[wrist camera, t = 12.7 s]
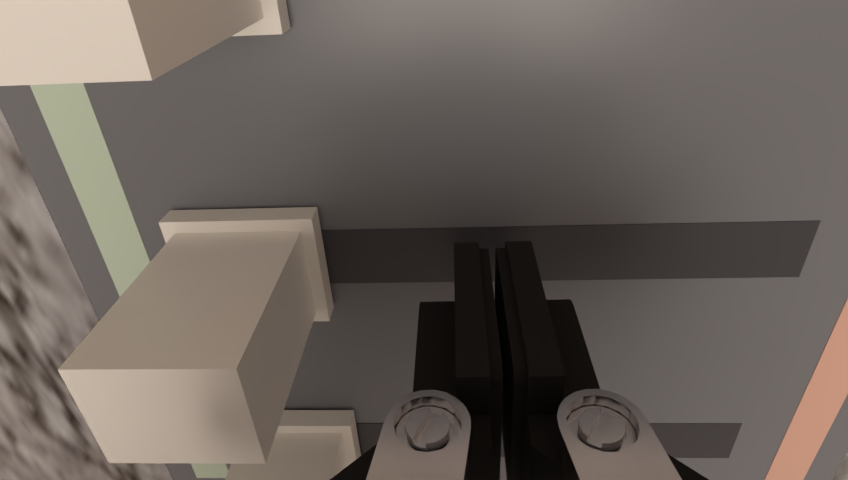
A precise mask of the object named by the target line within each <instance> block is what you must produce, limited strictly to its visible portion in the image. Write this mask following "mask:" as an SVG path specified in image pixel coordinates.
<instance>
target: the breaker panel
mask: <svg viewBox="0 0 848 480" xmlns="http://www.w3.org/2000/svg"><path fill="white" fill-rule="evenodd" d="M286 4H287V10H288V16H289V22H290V28H291V29H289V30H288V31H286V32H285V33H284V34H277V35H253V36H231V37H229V38H227V39H225V40H224V41H222V42H220V43H218V44H217V45H215V46H213V47H211V48H209V49H208V50H206V51H204V52H202V53H200V54H199V55H197V56H195V57H193V58H192V59H190V60H188V61H186V62H184V63H183V64H181V65H179V66H177V67H176V68H174V69H172V70H170V71H168V72H167V73H165V74H163V75H161V76H159V77H158V78H156V79H154V80H152V81H125V82H98V83H70V84H43V85H16V86H0V108H1V110H2V112H3V114H4V116H5V118H6V121H7V123H8V125H9V127H10V129H11V131H12V134H13V136H14V138H15V140H16V142H17V144H18V147H19V149H20V151H21V153H22V155H23V157H24V159H25V162H26V164H27V166H28V168H29V170H30V172H31V175H32V177H33V179H34V181H35V183H36V185H37V187H38V190H39V192H40V194H41V196H42V198H43V200H44V203H45V205H46V207H47V209H48V211H49V213H50V216H51V218H52V220H53V222H54V224H55V226H56V228H57V231H58V233H59V235H60V237H61V239H62V241H63V244H64V246H65V248H66V250H67V252H68V254H69V256H70V259H71V261H72V263H73V265H74V267H75V269H76V272H77V274H78V276H79V278H80V280H81V282H82V285H83V287H84V289H85V291H86V293H87V295H88V297H89V300H90V302H91V304H92V306H93V308H94V310H95V313H96V315H97V317H98V319H99V321H100V320H101V319H102V317H103V316H104V315H105V314H106V313H107V312H108V310H109V309H110V308H111V307H112V306H113V305H114V303H115V302H116V301H117V300H118V299H119V298H120V297H121V295H122V294H123V293H124V292H125V291H126V290H127V288H128V287H129V286H130V285H131V284H132V283H133V281H134V280H135V279H136V278H137V277H138V276H139V274H140V273H141V272H142V271H143V270H144V269H145V267H146V266H147V265H148V264H149V263H150V262H151V260H152V259H153V258H154V257H155V256H156V255H157V253H158V252H159V251H160V250H161V249H162V248H163V246H164V245H165V244H166V243H165V240H164V237H163V234H162V231H161V228H160V225H159V223H158V222H159V221H160V220H161V219H162V218H163V217H164V216H165V215H166V214H167V213H168V212H169V211H170V210H203V209H247V208H292V207H317V209H318V215H319V221H320V227H321V233H322V239H323V245H324V251H325V257H326V263H327V269H328V274H329V280H330V286H331V292H332V298H333V304H334V308H333V311H332V315H331V318H330V321H313V324H312V327H311V330H310V333H309V336H308V339H307V342H306V345H305V348H304V351H303V354H302V357H301V360H300V363H299V366H298V369H297V372H296V375H295V378H294V381H293V384H292V387H291V390H290V393H289V396H288V399H287V402H286V405H285V408H284V410H354V416H355V422H356V428H357V434H358V440H359V446H360V452H361V455H363V454H364V453H365V452H367V451H368V450H369V449H371V448H372V447H373V446H375V445H376V444H377V443H378V439H379V436H380V433H381V430H382V427H383V423H384V420H385V417H386V415H387V413H388V411H389V409H390V408H391V406H393V405H394V404H395V403H396V402H397V401H398V400H399V399H400V398H402V397H404V396H406V395H407V394H409V393H412V392H413V382H414V369H415V356H416V342H417V329H418V316H419V304H420V302H433V301H455V291H454V242H478V243H479V248H488V249H489V257H490V266H491V274H492V283H493V291H494V299H495V254H496V248H505V242H506V241H531V242H532V245H533V249H534V253H535V257H536V261H537V265H538V269H539V273H540V277H541V281H542V285H543V289H544V293H545V297H546V300H557V299H570V300H571V301H572V303H573V305H574V308H575V311H576V314H577V317H578V321H579V324H580V327H581V330H582V333H583V336H584V339H585V342H586V346H587V349H588V352H589V355H590V358H591V361H592V364H593V368H594V371H595V374H596V377H597V380H598V383H599V386H600V389H602V390H606V391H611V392H614V393H616V394H618V395H621V396H623V397H625V398H627V399H628V400H629V401H631V402H632V403H633V404H635V405H636V406H637V407H638V408H639V409H640V411H641V412H642V413H643V414H644V416H645V417H646V419H647V420H648V422H649V424H650V426H651V427H652V429H653V431H654V432H655V434H656V436H657V438H658V439H659V441H660V443H661V444H662V446H663V448H664V450H665V451H666V453H667V454H669V455H670V456H672V457H674V458H675V459H677V460H678V461H680V462H682V463H683V464H685V465H686V466H688V467H690V468H691V469H693V470H694V471H696V472H697V473H699V474H701V475H702V476H704V477H705V478H707V479H709V480H832V478H833V477H834V475H835V473H836V471H837V469H838V468H839V466H840V464H841V462H842V461H843V459H844V457H845V455H846V453H847V452H848V0H286ZM230 465H231V464H193V463H166V466H167V468H168V470H169V472H170V474H171V476H172V479H173V480H225V478H226V476H227V473H228V471H229V468H230ZM500 480H507V477H506V467H505V457H504V448H503V438H502V436H501V463H500Z"/></svg>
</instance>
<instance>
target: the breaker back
mask: <svg viewBox="0 0 848 480" xmlns="http://www.w3.org/2000/svg"><path fill="white" fill-rule="evenodd" d="M360 456H361V452H360V446H359V440H358V434H357V428H356V422H355V416H354V410H284V411H283V414H282V417H281V420H280V423H279V426H278V429H277V432H276V435H275V438H274V441H273V444H272V447H271V450H270V453H269V456H268V459H267V462H266V464H231V465H230V468H229V471H228V473H227V476H226V478H225V480H330V479H331V478H333V477H334V476H335V475H337V474H338V473H339V472H340V471H342V470H343V469H344V468H346V467H347V466H348V465H350V464H351V463H352V462H354V461H355V460H356V459H358V458H359V457H360Z"/></svg>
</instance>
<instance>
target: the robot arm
mask: <svg viewBox="0 0 848 480" xmlns="http://www.w3.org/2000/svg"><path fill="white" fill-rule="evenodd" d="M454 291H455V301H433V302H420V304H419V316H418V329H417V342H416V356H415V369H414V382H413V392H412V393H409V394H407V395H406V396H404V397H402V398H400V399H399V400H398V401H397V402H396V403H395V404H394V405H393V406H391V408H390V409H389V411H388V413H387V415H386V417H385V420H384V423H383V427H382V430H381V433H380V436H379V439H378V443H377V444H376V445H375V446H373V447H372V448H371V449H369V450H368V451H367V452H365V453H364V454H363V455H361V456H360V457H359V458H358V459H356V460H355V461H354V462H352V463H351V464H350V465H348V466H347V467H346V468H344V469H343V470H342V471H340V472H339V473H338V474H337V475H335V476H334V477H333V478H331V479H330V480H500V463H501V436H502V438H503V448H504V457H505V467H506V477H507V480H709V479H707V478H705V477H704V476H702V475H701V474H699V473H697V472H696V471H694V470H693V469H691V468H690V467H688V466H686V465H685V464H683V463H682V462H680V461H678V460H677V459H675V458H674V457H672V456H670V455H669V454H667V453H666V451H665V450H664V448H663V446H662V444H661V443H660V441H659V439H658V438H657V436H656V434H655V432H654V431H653V429H652V427H651V426H650V424H649V422H648V420H647V419H646V417H645V416H644V414H643V413H642V412H641V411H640V409H639V408H638V407H637V406H636V405H635V404H633V403H632V402H631V401H629V400H628V399H627V398H625V397H623V396H621V395H618V394H616V393H614V392H611V391H606V390H602V389H600V386H599V383H598V380H597V377H596V374H595V371H594V368H593V364H592V361H591V358H590V355H589V352H588V349H587V346H586V342H585V339H584V336H583V333H582V330H581V327H580V324H579V321H578V317H577V314H576V311H575V308H574V305H573V303H572V301H571V300H570V299H557V300H546V297H545V293H544V289H543V285H542V281H541V277H540V273H539V269H538V265H537V261H536V257H535V253H534V249H533V245H532V242H531V241H506V242H505V248H496V254H495V299H494V291H493V283H492V274H491V266H490V257H489V249H488V248H479V243H478V242H454Z"/></svg>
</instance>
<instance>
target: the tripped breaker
mask: <svg viewBox="0 0 848 480" xmlns="http://www.w3.org/2000/svg"><path fill="white" fill-rule="evenodd" d="M158 223H159V225H160V228H161V231H162V234H163V237H164V240H165V243H166V244H165V245H164V246H163V248H162V249H161V250H160V251H159V252H158V253H157V255H156V256H155V257H154V258H153V259H152V260H151V262H150V263H149V264H148V265H147V266H146V267H145V269H144V270H143V271H142V272H141V273H140V274H139V276H138V277H137V278H136V279H135V280H134V281H133V283H132V284H131V285H130V286H129V287H128V288H127V290H126V291H125V292H124V293H123V294H122V295H121V297H120V298H119V299H118V300H117V301H116V302H115V303H114V305H113V306H112V307H111V308H110V309H109V310H108V312H107V313H106V314H105V315H104V316H103V317H102V319H101V320H100V321H99V322H98V323H97V324H96V326H95V327H94V328H93V329H92V330H91V331H90V333H89V334H88V335H87V336H86V337H85V338H84V340H83V341H82V342H81V343H80V344H79V345H78V347H77V348H76V349H75V350H74V351H73V352H72V354H71V355H70V356H69V357H68V358H67V359H66V361H65V362H64V363H63V364H62V365H61V366H60V368H59V369H58V371H59V373H60V375H61V377H62V379H63V380H64V382H65V384H66V386H67V388H68V390H69V391H70V393H71V395H72V397H73V399H74V400H75V402H76V404H77V406H78V408H79V410H80V411H81V413H82V415H83V417H84V419H85V420H86V422H87V424H88V426H89V428H90V430H91V431H92V433H93V435H94V437H95V439H96V441H97V442H98V444H99V446H100V448H101V450H102V451H103V453H104V455H105V457H106V459H107V461H108V462H109V463H193V464H266V462H267V459H268V456H269V453H270V450H271V447H272V444H273V441H274V438H275V435H276V432H277V429H278V426H279V423H280V420H281V417H282V414H283V411H284V408H285V405H286V402H287V399H288V396H289V393H290V390H291V387H292V384H293V381H294V378H295V375H296V372H297V369H298V366H299V363H300V360H301V357H302V354H303V351H304V348H305V345H306V342H307V339H308V336H309V333H310V330H311V327H312V324H313V321H330V318H331V315H332V311H333V308H334V304H333V298H332V292H331V286H330V280H329V274H328V269H327V263H326V257H325V251H324V245H323V239H322V233H321V227H320V221H319V215H318V209H317V207H292V208H247V209H203V210H170V211H169V212H168V213H167V214H166V215H165V216H164V217H163V218H162V219H161V220H160V221H159V222H158Z"/></svg>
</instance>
